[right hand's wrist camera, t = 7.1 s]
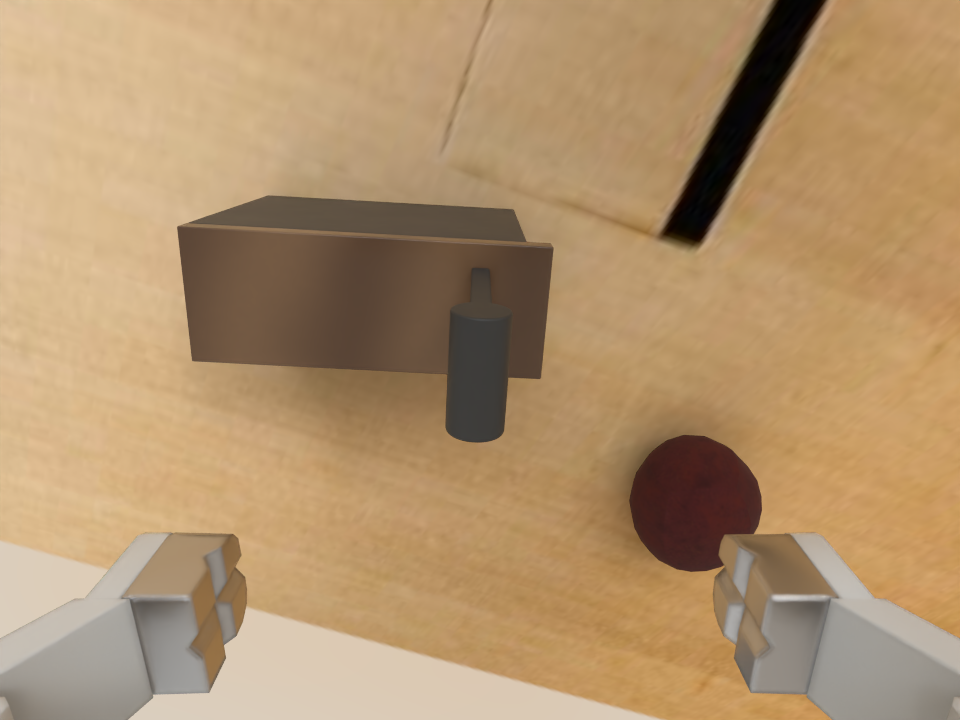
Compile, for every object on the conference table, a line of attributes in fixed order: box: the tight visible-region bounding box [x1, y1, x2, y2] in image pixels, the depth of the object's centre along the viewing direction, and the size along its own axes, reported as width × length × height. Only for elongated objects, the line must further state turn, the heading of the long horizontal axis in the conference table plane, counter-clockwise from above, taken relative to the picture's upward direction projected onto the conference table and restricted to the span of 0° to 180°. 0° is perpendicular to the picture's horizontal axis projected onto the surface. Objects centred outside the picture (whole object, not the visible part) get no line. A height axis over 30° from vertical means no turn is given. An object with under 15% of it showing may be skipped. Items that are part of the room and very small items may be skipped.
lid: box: [177, 223, 553, 442], centre depth 22 cm, size 14×6×8 cm, turn 87°
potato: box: [629, 435, 762, 572], centre depth 37 cm, size 7×8×7 cm
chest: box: [189, 196, 526, 242], centre depth 31 cm, size 13×6×10 cm, turn 87°
